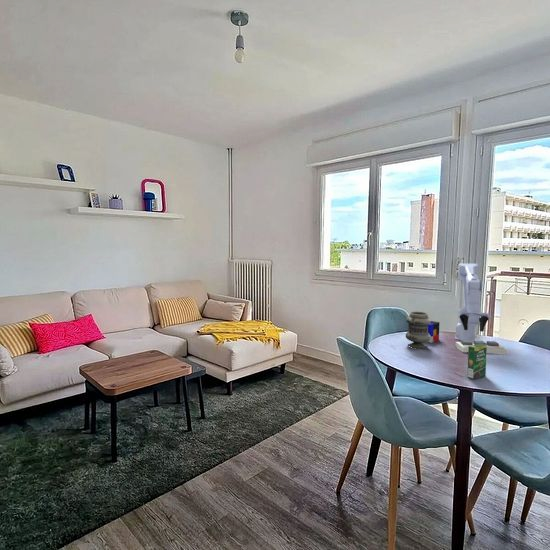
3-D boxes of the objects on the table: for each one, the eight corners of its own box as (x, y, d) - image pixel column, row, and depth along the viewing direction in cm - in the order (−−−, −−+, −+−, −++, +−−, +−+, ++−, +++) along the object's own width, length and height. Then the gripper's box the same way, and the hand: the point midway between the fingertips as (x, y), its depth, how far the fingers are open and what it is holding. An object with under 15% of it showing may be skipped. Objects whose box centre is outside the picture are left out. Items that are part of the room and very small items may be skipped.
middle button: (476, 347, 177) (477, 342, 177) (473, 345, 181) (473, 340, 181) (485, 347, 176) (485, 343, 176) (482, 345, 180) (482, 340, 180)
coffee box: (473, 380, 138) (474, 347, 137) (466, 377, 141) (467, 345, 140) (486, 376, 142) (487, 344, 141) (479, 374, 144) (480, 342, 143)
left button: (463, 347, 178) (464, 342, 178) (461, 344, 182) (461, 340, 182) (472, 347, 177) (472, 342, 177) (469, 345, 181) (469, 340, 181)
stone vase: (410, 350, 178) (411, 315, 176) (401, 343, 190) (402, 310, 188) (434, 350, 178) (435, 314, 176) (423, 343, 190) (425, 310, 188)
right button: (489, 348, 176) (490, 343, 176) (486, 345, 180) (486, 341, 180) (498, 348, 175) (498, 343, 175) (494, 346, 179) (495, 341, 179)
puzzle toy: (430, 343, 191) (430, 324, 191) (412, 339, 199) (413, 321, 198) (438, 339, 198) (439, 322, 197) (421, 336, 205) (422, 319, 205)
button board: (462, 352, 174) (462, 346, 174) (455, 346, 184) (455, 341, 184) (506, 354, 171) (507, 348, 171) (497, 348, 181) (497, 342, 181)
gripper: (462, 301, 176) (462, 329, 174) (493, 304, 175) (493, 332, 173) (456, 303, 183) (456, 329, 181) (485, 305, 182) (485, 332, 179)
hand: (473, 330), depth 177 cm, fingers open, 7 cm apart
